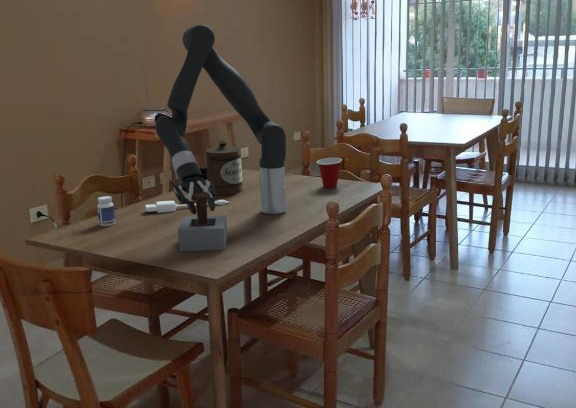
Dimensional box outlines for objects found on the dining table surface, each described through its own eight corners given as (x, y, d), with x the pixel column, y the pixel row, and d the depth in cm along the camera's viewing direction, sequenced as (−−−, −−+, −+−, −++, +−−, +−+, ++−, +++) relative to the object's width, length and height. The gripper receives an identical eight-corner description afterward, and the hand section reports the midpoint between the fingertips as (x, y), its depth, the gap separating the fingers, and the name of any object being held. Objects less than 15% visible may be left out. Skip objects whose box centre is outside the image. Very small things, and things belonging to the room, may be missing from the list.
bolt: (208, 242, 190) (205, 196, 186) (193, 241, 191) (190, 196, 187) (214, 236, 195) (211, 191, 191) (199, 235, 196) (196, 191, 192)
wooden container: (229, 196, 249) (226, 144, 243) (201, 193, 256) (197, 142, 251) (249, 188, 262) (247, 138, 256) (221, 185, 269) (218, 136, 263)
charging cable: (230, 207, 237) (230, 199, 237) (146, 214, 227) (146, 205, 226) (227, 204, 242) (227, 196, 241) (145, 210, 231) (144, 202, 231)
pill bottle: (118, 222, 218) (116, 196, 215) (109, 227, 213) (106, 200, 210) (105, 221, 220) (102, 195, 217) (95, 226, 215) (92, 199, 212)
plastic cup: (313, 185, 264) (313, 158, 261) (336, 183, 267) (336, 156, 264) (322, 191, 254) (321, 163, 251) (345, 188, 257) (345, 161, 254)
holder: (227, 235, 200) (226, 215, 199) (224, 249, 187) (223, 228, 185) (185, 236, 200) (183, 216, 198) (179, 251, 186) (177, 230, 185)
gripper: (168, 164, 189) (185, 209, 183) (209, 158, 196) (228, 201, 190) (163, 177, 195) (180, 221, 188) (203, 171, 202) (221, 213, 196)
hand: (204, 211), depth 189 cm, fingers closed on bolt, 5 cm apart
